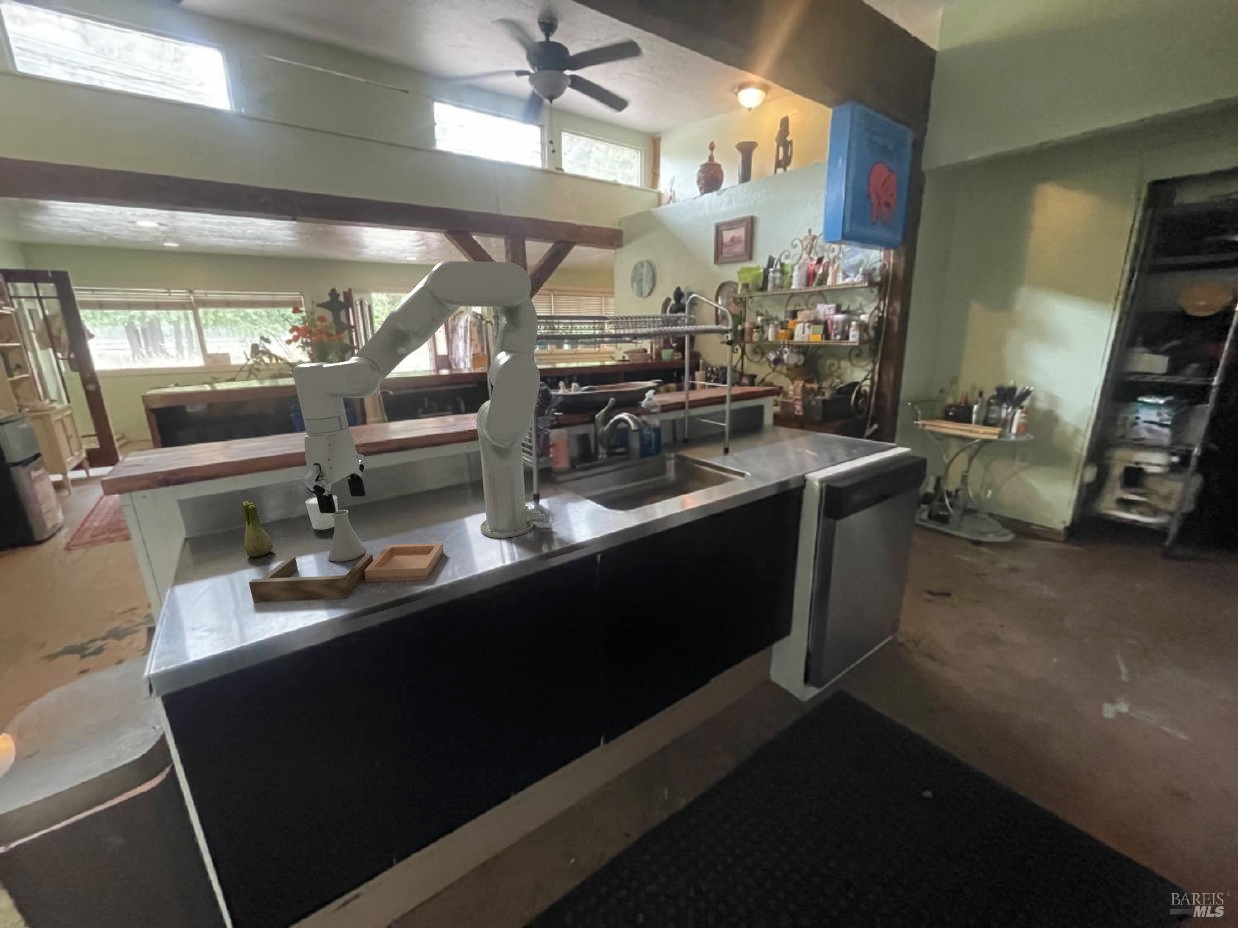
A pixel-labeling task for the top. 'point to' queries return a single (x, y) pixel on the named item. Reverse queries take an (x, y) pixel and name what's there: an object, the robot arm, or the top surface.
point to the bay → (306, 583)
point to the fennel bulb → (255, 533)
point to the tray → (404, 562)
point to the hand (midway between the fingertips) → (344, 504)
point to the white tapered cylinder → (320, 514)
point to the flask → (344, 539)
